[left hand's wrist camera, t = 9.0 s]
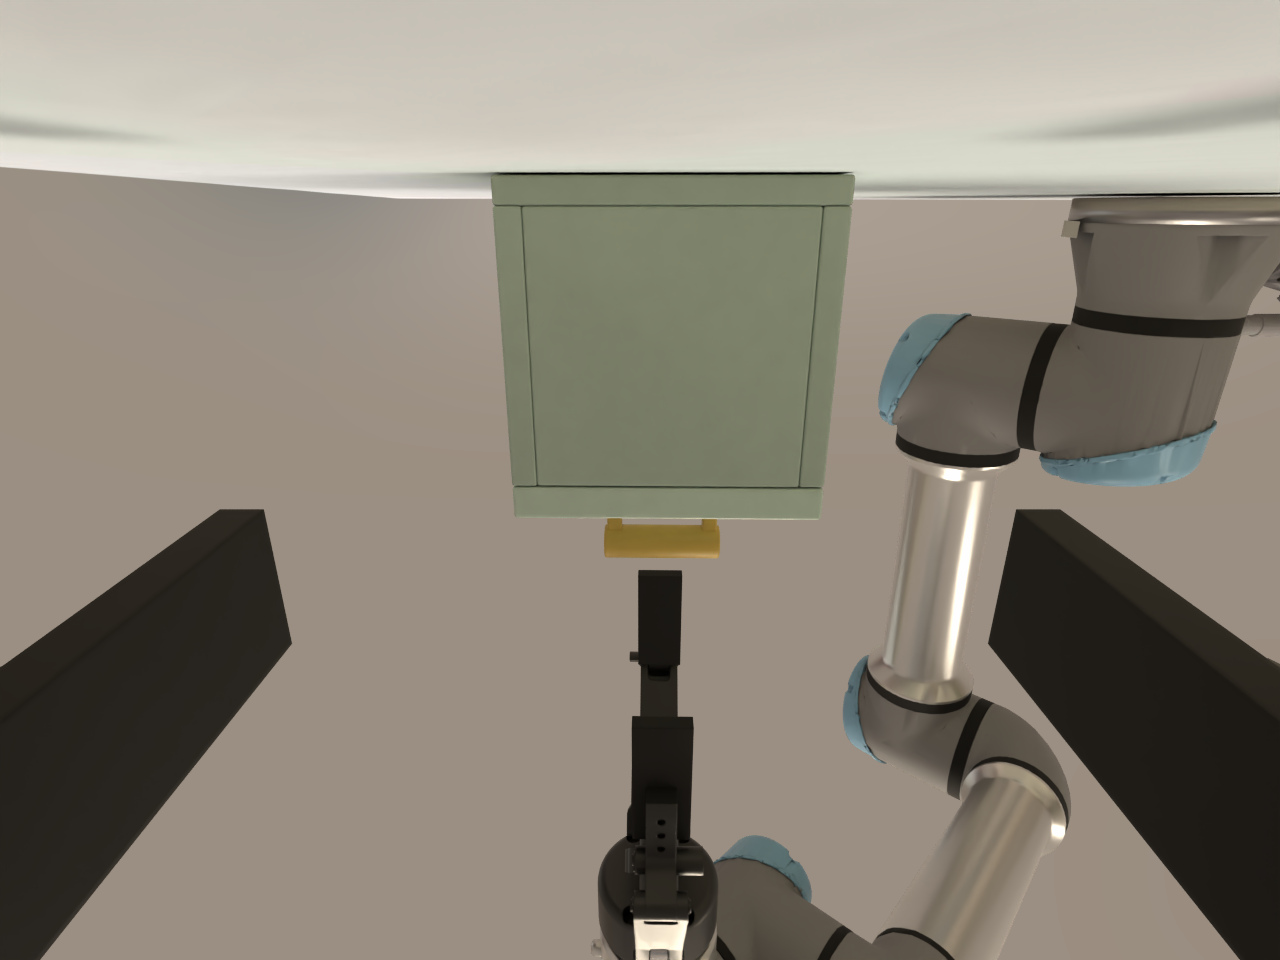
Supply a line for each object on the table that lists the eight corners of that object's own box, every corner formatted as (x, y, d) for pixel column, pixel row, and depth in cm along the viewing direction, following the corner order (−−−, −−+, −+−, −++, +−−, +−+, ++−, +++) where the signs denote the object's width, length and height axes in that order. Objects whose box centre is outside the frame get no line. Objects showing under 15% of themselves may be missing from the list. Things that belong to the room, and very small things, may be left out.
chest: (778, 186, 32) (765, 390, 35) (552, 186, 32) (560, 389, 35) (856, 174, 19) (824, 488, 23) (489, 174, 20) (511, 486, 23)
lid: (762, 387, 36) (753, 531, 39) (562, 386, 36) (568, 529, 39) (824, 489, 23) (803, 694, 26) (511, 487, 23) (526, 690, 26)
